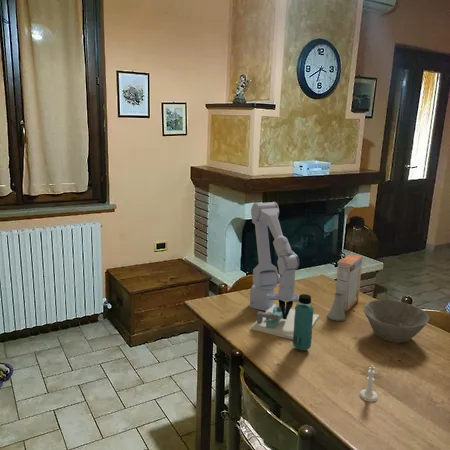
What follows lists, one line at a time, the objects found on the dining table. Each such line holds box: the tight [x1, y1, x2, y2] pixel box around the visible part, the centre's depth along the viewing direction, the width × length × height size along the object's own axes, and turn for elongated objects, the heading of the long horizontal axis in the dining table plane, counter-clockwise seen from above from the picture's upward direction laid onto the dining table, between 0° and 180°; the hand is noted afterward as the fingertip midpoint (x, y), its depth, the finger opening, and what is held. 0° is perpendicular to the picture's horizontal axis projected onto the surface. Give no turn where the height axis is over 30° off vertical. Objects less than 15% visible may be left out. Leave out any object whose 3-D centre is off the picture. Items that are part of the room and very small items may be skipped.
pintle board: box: [250, 304, 320, 341], centre depth 171 cm, size 20×22×5 cm
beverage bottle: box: [292, 293, 315, 351], centre depth 150 cm, size 6×7×20 cm
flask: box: [327, 292, 347, 322], centre depth 176 cm, size 7×7×10 cm
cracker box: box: [335, 253, 363, 313], centre depth 187 cm, size 14×6×21 cm, turn 144°
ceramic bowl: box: [363, 299, 430, 343], centre depth 162 cm, size 22×23×10 cm
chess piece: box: [359, 364, 378, 403], centre depth 127 cm, size 5×5×10 cm
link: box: [266, 305, 289, 328], centre depth 172 cm, size 17×6×2 cm, turn 156°
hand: (284, 318), depth 171 cm, fingers closed
